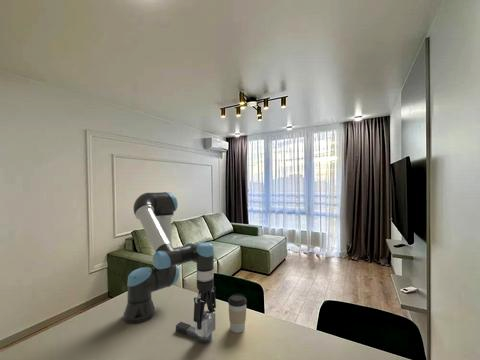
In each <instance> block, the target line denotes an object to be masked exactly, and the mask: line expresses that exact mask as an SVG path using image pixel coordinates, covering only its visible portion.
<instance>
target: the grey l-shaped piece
mask: <svg viewBox="0 0 480 360" xmlns="http://www.w3.org/2000/svg"><path fill="white" fill-rule="evenodd" d="M175 332H176V333H178V334H181V335H185V336H187V337H191V338H192V339H196V340H198V343H199V344H200V345H201V344H202V345H207V344H209V343H211V342H212V340H213V332H212V333H211V334H210V335H209V336H208V337H204V336H203V337H201V336H198V335H197V334H195V326H191V324H189V323H186V322H183V321H179V323H177V324H176V325H175Z"/></svg>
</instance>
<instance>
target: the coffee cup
mask: <svg viewBox="0 0 480 360" xmlns="http://www.w3.org/2000/svg"><path fill="white" fill-rule="evenodd" d="M227 303H228V317H229V325H230V326H229V328H230V331H231V332H232V333H236V334H238V333H243V332H244V331H245V329H246V328H245V327H246V320H247V319H246V317H247V303H248V300H247V298H246V297H245V296H244V295H243V294H242V293H239V292H238V293H235V294H232V295H231V296H229V298H228V301H227Z"/></svg>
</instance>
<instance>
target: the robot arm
mask: <svg viewBox="0 0 480 360" xmlns="http://www.w3.org/2000/svg"><path fill="white" fill-rule="evenodd" d="M178 203H179V202H178V200H177V197H176V196H175V194H174V193H172V192H166V191H165V192H144V193H142V194H140V195H139V196H138V197H137V198H136V199H135V201H134V204H133V207H132V208H133V214H134V216H135V218H136V219H137V220H139V222H140V224H141V225H142V227H143V229H144V232H145V234H146V236H147V238H148V240H149V242H150V244H151V246H152V248H153V250H154V254H153V256H152V261H153V262H152V263H153V265H152V266H153V267H152V268H151V267H148V266H144V267H138V268H136V269H134V270H132V271H131V272H130V273H129V274H128V275H127V283H126V285H127V296H126V297H127V300H126V301H127V303H126V307H125V309H124V312H123V322H125V323H126V324H130V325H135V324H140V323H141V324H142V323H143V322H146V321H149V320H151V319H152V318H153V317H154V316H155V311H156V310H155V305H154V302H153V299H152V293H154V292H156V291H159V290H163V289H166V288H170V287H171V286H174V285H176V283H177V282H178V281H179V277H180V269H179V265H182V264H186V263H190V262H193V263H195V264H196V289H197V290H198V293H197V294H198V295H197V296H196V297H194V298H193V302H194V303H193V322H194V323H195V322H197V335H198V336H201V337H203V336H204V321H203V320H202V319H203V313H204V310H205V306H206V307H207V311H209V312H212V313H215V312H216V307H217V302H216V299H217V298H216V286H215V284H214V282H215V280H214V275H215V274H214V270H215V269H214V267H215V266H214V265H215V262H214V259H215V258H214V255H215V252H214V251H215V250H214V245H213V243H211V242H208V241H207V242H200V243H198V244H195V243H194V242H192V243H191V242H187V243H185V244H183V245H182V246H178V247H174V246H173V245H172V217H173V216H174V213H175V212H176V211H177V209H178Z"/></svg>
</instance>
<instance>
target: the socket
mask: <svg viewBox="0 0 480 360" xmlns="http://www.w3.org/2000/svg"><path fill="white" fill-rule="evenodd" d="M202 320H203V321H204V337H208V336H209V335H210V334H211V333H212V334H213V332H214V331H215V330H216V313H215V312H213V313H212V312H209V311H208V310H205V309H204V313H203V319H202ZM194 327H195V334H197V322H194Z"/></svg>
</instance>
